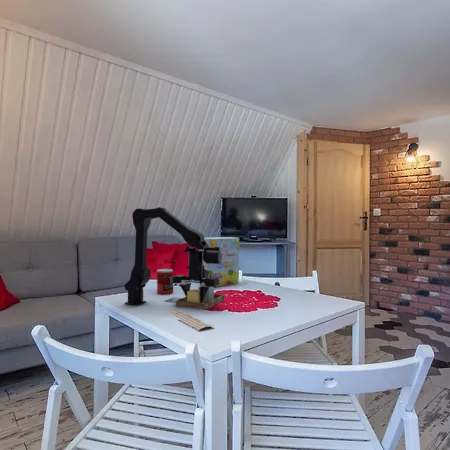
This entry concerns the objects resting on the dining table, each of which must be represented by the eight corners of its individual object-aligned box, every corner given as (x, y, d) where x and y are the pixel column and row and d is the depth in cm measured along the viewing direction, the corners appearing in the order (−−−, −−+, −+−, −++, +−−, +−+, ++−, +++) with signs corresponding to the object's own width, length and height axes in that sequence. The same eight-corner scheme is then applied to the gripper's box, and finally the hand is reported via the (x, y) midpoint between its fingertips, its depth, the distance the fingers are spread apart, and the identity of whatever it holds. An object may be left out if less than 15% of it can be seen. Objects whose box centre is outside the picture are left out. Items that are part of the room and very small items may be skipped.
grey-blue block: (209, 302, 148) (209, 288, 148) (198, 301, 150) (198, 287, 150) (213, 299, 153) (214, 285, 152) (203, 298, 154) (203, 285, 154)
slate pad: (180, 304, 146) (180, 302, 146) (164, 302, 149) (164, 301, 149) (189, 300, 153) (189, 298, 153) (173, 298, 156) (173, 297, 156)
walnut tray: (206, 311, 136) (206, 304, 136) (175, 307, 141) (175, 300, 141) (224, 301, 152) (224, 294, 152) (196, 298, 158) (196, 292, 158)
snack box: (209, 289, 179) (209, 238, 179) (198, 286, 186) (199, 237, 185) (239, 283, 194) (240, 237, 193) (228, 281, 200) (229, 236, 200)
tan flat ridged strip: (167, 316, 131) (167, 311, 131) (184, 313, 135) (184, 309, 135) (198, 333, 111) (198, 328, 111) (217, 329, 115) (217, 324, 115)
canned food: (165, 295, 164) (165, 271, 163) (153, 293, 168) (153, 270, 168) (176, 292, 170) (176, 270, 170) (165, 290, 175) (165, 268, 174)
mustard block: (198, 307, 139) (198, 292, 139) (187, 306, 141) (187, 291, 141) (203, 304, 143) (203, 290, 143) (192, 303, 145) (192, 289, 145)
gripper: (224, 262, 146) (224, 299, 146) (185, 260, 153) (185, 295, 153) (213, 265, 135) (213, 305, 136) (171, 262, 142) (171, 301, 143)
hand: (195, 301), depth 142 cm, fingers open, 6 cm apart
